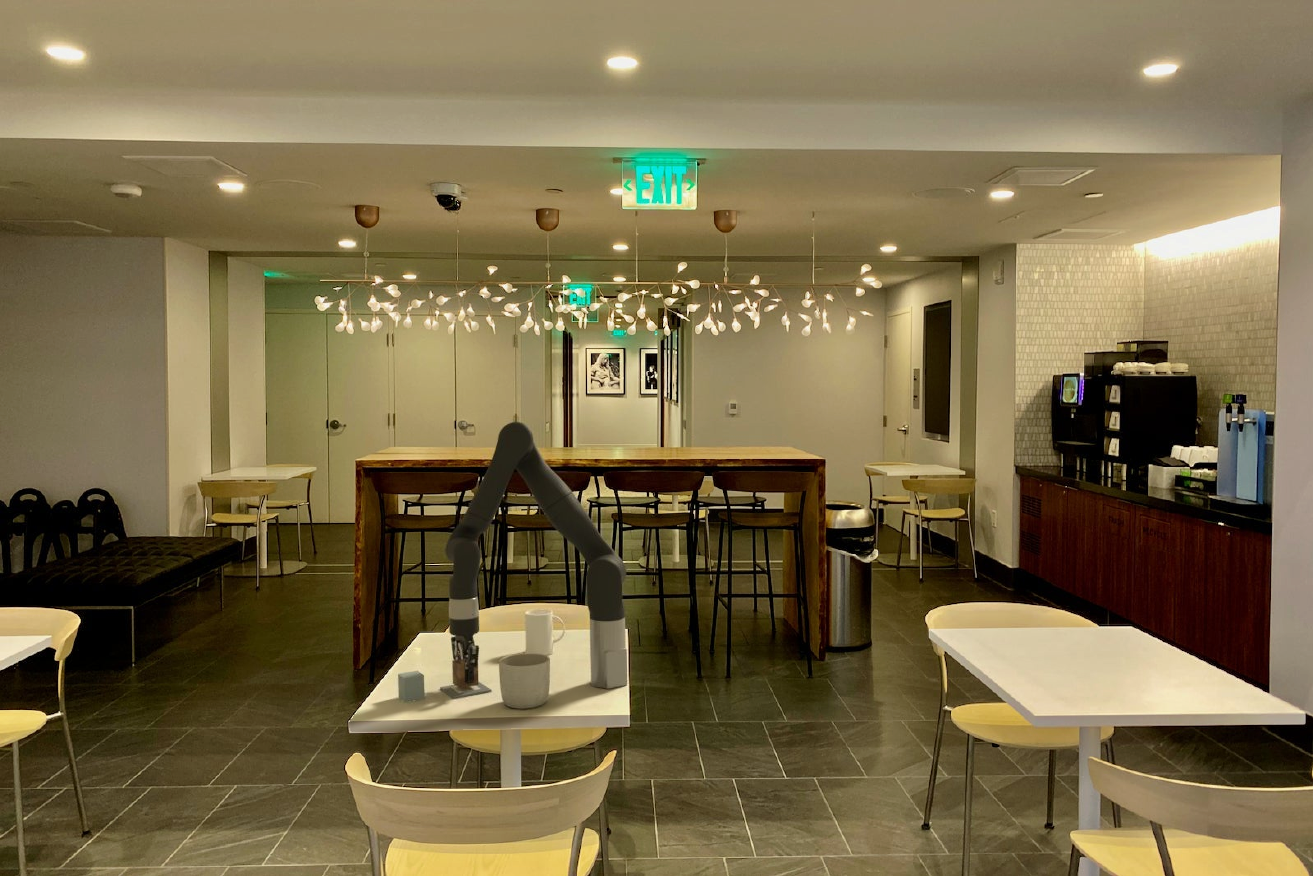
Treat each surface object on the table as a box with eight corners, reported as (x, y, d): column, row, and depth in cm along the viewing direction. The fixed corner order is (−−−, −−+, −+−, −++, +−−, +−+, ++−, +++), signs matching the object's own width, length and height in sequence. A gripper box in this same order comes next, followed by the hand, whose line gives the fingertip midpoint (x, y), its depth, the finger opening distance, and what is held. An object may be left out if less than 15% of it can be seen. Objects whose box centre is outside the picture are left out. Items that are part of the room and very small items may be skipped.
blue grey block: (424, 699, 237) (424, 675, 237) (404, 702, 234) (404, 678, 234) (418, 694, 241) (417, 670, 241) (398, 697, 239) (398, 674, 238)
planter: (489, 704, 232) (488, 660, 231) (530, 693, 240) (529, 650, 240) (519, 715, 223) (518, 669, 222) (561, 703, 231) (560, 659, 231)
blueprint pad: (491, 691, 242) (491, 689, 242) (454, 698, 236) (453, 696, 236) (476, 682, 250) (476, 680, 250) (440, 689, 245) (440, 686, 245)
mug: (567, 648, 283) (566, 608, 283) (562, 656, 275) (561, 615, 274) (528, 648, 284) (527, 609, 284) (522, 656, 276) (521, 615, 275)
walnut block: (478, 685, 242) (478, 661, 242) (459, 688, 240) (459, 664, 240) (471, 680, 247) (470, 657, 246) (452, 683, 244) (452, 660, 244)
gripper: (488, 617, 239) (490, 685, 239) (467, 608, 251) (469, 672, 251) (460, 622, 235) (461, 690, 235) (440, 611, 247) (441, 676, 247)
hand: (465, 680), depth 243 cm, fingers closed on walnut block, 4 cm apart
